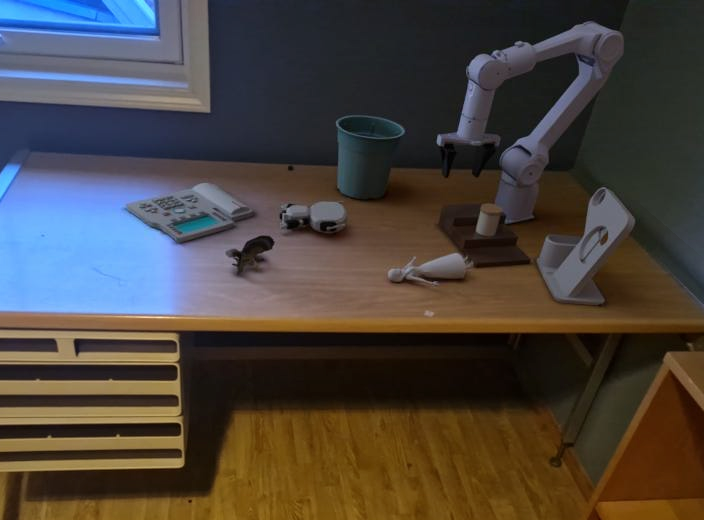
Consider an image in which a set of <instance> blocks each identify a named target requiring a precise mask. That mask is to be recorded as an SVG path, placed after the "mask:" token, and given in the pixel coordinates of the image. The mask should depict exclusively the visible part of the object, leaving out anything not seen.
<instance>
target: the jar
mask: <svg viewBox="0 0 704 520" xmlns="http://www.w3.org/2000/svg"><path fill="white" fill-rule="evenodd" d="M485 203H486V202H485ZM490 203H491V202H487V203H486V204H484V203H481V204H482V205H481V208H480V215H479V218H478V222H477V226H476V232H477V233H479V234H481V235H484V236H493V235H495V234H496V230H497V227H498V223H499V220H500V216H501V214H502V212H503V209H502V208H501V207H500V206H498V205H495V204H490Z"/></svg>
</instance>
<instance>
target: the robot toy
mask: <svg viewBox="0 0 704 520" xmlns="http://www.w3.org/2000/svg"><path fill="white" fill-rule="evenodd" d="M344 202H345V200H340V201H318V202H315V203H314V204H313V205H312V206H311V207H310V208H309V206H307V205H298V204H295V203H290V202H289V203H288V204H287V203H284V204H282V205H281V206H280V207H281V208H280V209H281V210H282V211H281V212H280V213H279V217H278V218H279V220H280V221H282V222H280V223H279V225H278V226H279V228H280V229H281V230H285V229H286V230H289V231H290V230H295V229H300V228H306V227H308V226H309V225H310V226H311V227H312V229H313V230H315V231H317V232H319V233H323V234H328V235H329V234H333V233H337V232H340V231H341V230H343V229H344V228H345V227H346V226H347V221H348V211H347V210H346V209H347V208H346V207H345V206H344V205H342V204H343V203H344Z"/></svg>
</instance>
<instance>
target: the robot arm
mask: <svg viewBox="0 0 704 520" xmlns="http://www.w3.org/2000/svg"><path fill="white" fill-rule="evenodd" d="M624 51H625V39H624V36H623V34H622V32H620V31H619V30H613V29H610V28H608V27H605V26H603V25H601V24H598V23H597V22H596V21H592V20H591V21H590V20H589V21H586V22H583V23H582V24H576V25H574V26H572V28H571V29H568V30H566V31H564V32H561V33H560V34H557V35H555V36H552V37H550V38H547V39H545V40H543V41H540V42H538V43H536V44H533V45H532V44H530V43H529V42H526V41H525V42H523V41H521V40H519V41H516V42H515V43H514V45H513V46H511V47H507V48H504V49H501V50H499V49H496V50H493V52H492V53H491V54H490V55H489V54H486V53H481V54H478V55H476V56H475V57H474V58H473V59H472V60H471V62H470V63H469V65H467V66H466V70H465V71H466V76H467V78H468V83H467V89H466V93H465V97H464V103H463V106H462V107H463V108H462V110H461V115H460V119H459V124H458V127H457V131H456V132H450V133H442V134H440V133H439V134H437V139H436V144H437V147H438V150H439V154H440V159H441V176H442V177H443V178H445V179H449V177H450V174H451V170H452V165H453V162H454V160H455V157H456V156H457V154H458V151H457V150H456V149H455V146H475V156H474V162H473V165H472V170H471V175H472V176H473V177H474V178H479V177H480V175H481V173H482V171H483V169H484V168H485V166H486V165H487V163H488V162H489V161H490V159H491V158H492V157H493V156H494V155H495V154H496V152H497V148H496V147H499V146H500V144H501V143H500V142H501V140H502V137H501V136H499V135H498V134H491V133H485V132H486V127H487V124H488V121H489V116H490V112H491V109H492V105H493V100H494V96H495V92H496V90H497V89H498V88H499V87H500V86H501V85H502V84H503V83H504V82H505V80H506V81H507V80H508V79H512V78H514V77H516V76H519V75H522V74H525V73H528V72H531V71H532V70H533V69H534V68H535V66H536V64H537V63H539V62H543V61H546V60H549V59H554V58H557V57H560V56H563V55H567V54H571V53H574V54H575V57H576V60H577V63H578V76H577V77H576V78H575V79H574V80H573V82H572V83H571V84H570V85H569V87H567V89H566V90H565V91H564V93H563V94H562V95H561V96H560V97H559V99H558V100H557V101H556V102H555V104H554V105H553V106H552V107H551V109H549V111H548V112H547V113H546V115H545V116H544V117H543V119H542V120H540V122H539V123H538V124H537V125H536V127H535V128H534V129H533V130H532V132H531V133H530V134H529V135H527V136H524V137H521V138H519V139H517V140H516V141H515V143H514V144H512V145H511V146H510V147H508V148H506V149H505V150H504V151H503V152H502V154H501V155H500V158H499V167H500V169H501V174H500V175H501V177H500V181H499V184H498V188H497V191H496V195H495V199H494V202H493V203H494V204H495V205H498V206H500V207H501V208H502V209H503V213H505V214H506V215H507V216H506V219H505V223H504V224H505V225H510V224H515V223H518V222H519V223H520V222H523V221H528V220H532V219H535V215H533V213H534V210H535V207H536V204H537V200H538V196H539V194H540V187H539V183H538V181H539V180H540V179H541V176H543V175H542V174H543V172H544V170H545V168H546V167H547V165H548V164H549V161H550V159H549V156H550V155H549V150H550V149H551V148H552V147H553V146H554V145H555V143H556V142H557V141H558V140H559V139H560V138H561V136H562V135H563V134H564V132H566V130H567V129H568V128H569V126H570V125H572V123H573V122H574V121H575V120H576V118H577V117H578V116H579V115H580V113H581V112H582V111H583V110H584V109H585V108H586V107H587V105H588V104H589V103H590V102H591V100H593V98H594V97H595V96H596V95H597V93H598V92H599V91H600V90H601V88H602V87H603V86H604V85H605V84H606V82H607V81H608V79H609V77H610V74H611V72H612V70H613V69H614V66H615V65H616V63H618V61H619V60H620V59H621V57H622V56H623V55H624V54H625V53H624Z"/></svg>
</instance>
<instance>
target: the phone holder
mask: <svg viewBox="0 0 704 520" xmlns="http://www.w3.org/2000/svg"><path fill="white" fill-rule="evenodd" d="M635 223H636V218H635V217H634V216H633V214H632V213H631V212H630V211H629V209H627V207H626V206H625V204H623V202H621V200H620V199H619V198H618V197H617V195H616V194H615V192H613V191H612V190H611V189H608V188H607V187H604V186H602V187H600V188H598V189H597V190H596V191H595V192H594V194H593V195H592V196H591V198H590V200H589V202H588V206H587V213H586V219H585V226H584V232H583V236H575V235H564V234H563V235H561V234H548V235H547V236H546V237H545V240H544V243H543V246H542V248H541V252H540V255H539V257H537V258H536V261H535V264H536V266H537V267H538V269H539V271H540V274H541V275H542V278H543V279H544V281H545V283H546V285H547V287H548V290H549V292H550V293H551V295H552V297H553V299H554V300H555V301H556V302H558V303H561V304H562V303H563V304H575V305H587V306H599V305H601V306H603V305H604V304H605V298H604V296H603V295H602V293H601V291H600V290H599V288H598V286H597V285H596V283H595V282H594V279H593V277H594V276H595V275H596V274H597V273H598V271H600V269H601V268H602V267H603V266H604V264H605V263H606V262H607V261H608V260H609V258H611V256H612V255H613V253H615V251H616V250H617V249H618V247H620V245H621V244H622V243H623V242H624V241H625V239H626V238H627V237H628V236H629V234H630V233H631V232H632V231H633V229H634V227H635ZM606 234H607V240H606V242H605V243H603V244H601V242H602V240H603V238H604V237H605V235H606Z"/></svg>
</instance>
